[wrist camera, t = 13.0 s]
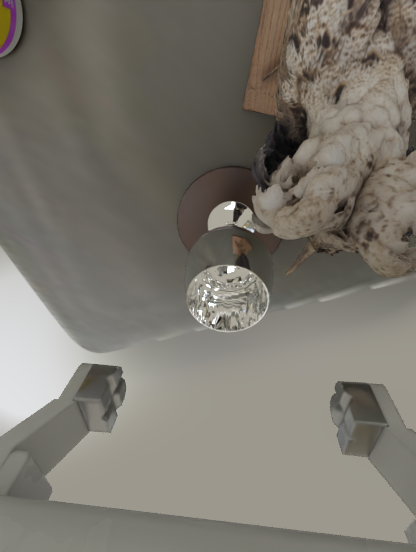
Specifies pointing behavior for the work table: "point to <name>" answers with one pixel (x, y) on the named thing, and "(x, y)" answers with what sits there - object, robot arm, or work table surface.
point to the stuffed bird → (337, 128)
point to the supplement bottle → (10, 25)
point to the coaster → (217, 202)
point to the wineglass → (229, 271)
